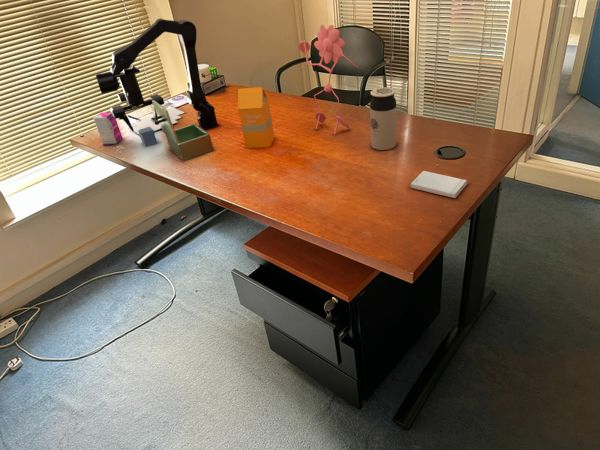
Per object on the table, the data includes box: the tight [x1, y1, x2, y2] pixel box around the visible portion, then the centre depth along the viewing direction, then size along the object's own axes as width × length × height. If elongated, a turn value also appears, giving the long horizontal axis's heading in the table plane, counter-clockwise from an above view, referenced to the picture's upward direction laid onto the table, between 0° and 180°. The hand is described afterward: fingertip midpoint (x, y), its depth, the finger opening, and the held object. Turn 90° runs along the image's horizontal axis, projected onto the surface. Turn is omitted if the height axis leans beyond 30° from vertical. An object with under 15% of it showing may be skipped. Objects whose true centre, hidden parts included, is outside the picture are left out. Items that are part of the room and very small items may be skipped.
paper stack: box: [128, 106, 186, 136], centre depth 191 cm, size 23×25×1 cm
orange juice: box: [237, 86, 275, 149], centre depth 153 cm, size 8×9×20 cm
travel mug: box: [369, 86, 397, 151], centre depth 139 cm, size 8×8×18 cm
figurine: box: [298, 24, 359, 139], centre depth 153 cm, size 15×26×35 cm, turn 45°
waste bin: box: [165, 123, 214, 162], centre depth 160 cm, size 12×15×6 cm
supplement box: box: [93, 111, 124, 146], centre depth 174 cm, size 6×6×12 cm
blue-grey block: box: [138, 127, 158, 148], centre depth 170 cm, size 5×5×6 cm
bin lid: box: [151, 100, 179, 144], centre depth 151 cm, size 12×15×4 cm
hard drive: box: [410, 170, 468, 199], centre depth 119 cm, size 2×8×12 cm
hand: (145, 127), depth 168 cm, fingers open, 9 cm apart
